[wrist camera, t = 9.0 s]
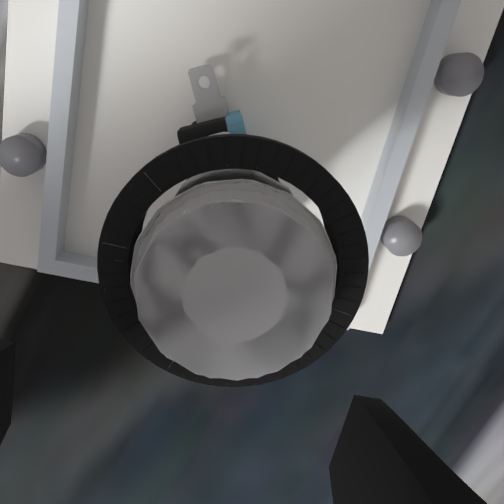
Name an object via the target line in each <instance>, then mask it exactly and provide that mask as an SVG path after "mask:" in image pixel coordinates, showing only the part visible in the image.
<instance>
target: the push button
mask: <svg viewBox="0 0 504 504" xmlns="http://www.w3.org/2000/svg"><path fill="white" fill-rule="evenodd" d="M188 75H189V79H190V82H191V86H192V90H193V93H194V97H195V101H196V103H195V104H194V105H192V107H193V111H194V115H195V118H196V121H194V122H193V123H192V124H191V125H188V126H184V127H181V128H180V129H179V130H178V131H177V137H178V141H179V145H177V146H175V147H172V148H170V149H169V150H167V151H165V152H163V153H162V154H160V155H158V156H157V157H155V158H154V159H153V160H151V161H150V162H148V163H147V164H146V165H145V166H144V167H142V168H141V169H140V170H139V171H138V172H137V173H136V174H135V175H134V176H133V177H132V178H131V179H130V180H129V182H128V183H127V184H126V185H125V186H124V187H123V189H122V190H121V191H120V193H119V194H118V196H117V197H116V199H115V200H114V202H113V204H112V206H111V208H110V210H109V212H108V213H107V216H106V218H105V221H104V224H103V227H102V230H101V234H100V238H99V244H98V252H97V271H98V280H99V285H100V289H101V294H102V297H103V300H104V302H105V305H106V308H107V310H108V312H109V314H110V316H111V318H112V320H113V321H114V323H115V325H116V326H117V328H118V329H119V331H120V332H121V333H122V335H123V336H124V337H125V338H126V340H127V341H128V342H129V343H130V344H131V345H132V346H133V347H134V348H135V349H136V350H137V351H138V352H139V353H141V354H142V355H143V356H144V357H145V358H147V359H148V360H150V361H151V362H152V363H154V364H155V365H157V366H159V367H160V368H162V369H164V370H166V371H168V372H170V373H172V374H174V375H177V376H179V377H181V378H184V379H187V380H190V381H193V382H198V383H202V384H207V385H214V386H226V387H239V386H251V385H258V384H263V383H267V382H272V381H275V380H278V379H281V378H284V377H286V376H289V375H291V374H293V373H296V372H297V371H299V370H301V369H303V368H305V367H307V366H308V365H310V364H311V363H313V362H314V361H316V360H317V359H319V358H320V357H321V356H322V355H324V354H325V353H326V352H327V351H328V350H329V349H330V348H331V347H332V346H333V345H334V344H335V343H336V342H337V341H338V340H339V339H340V338H341V336H342V335H343V334H344V333H345V331H346V330H347V328H348V327H349V325H350V324H351V322H352V321H353V319H354V317H355V315H356V313H357V311H358V309H359V307H360V304H361V302H362V299H363V296H364V292H365V289H366V284H367V278H368V270H369V253H368V243H367V238H366V233H365V230H364V226H363V223H362V220H361V218H360V215H359V213H358V211H357V209H356V207H355V205H354V203H353V202H352V200H351V198H350V197H349V195H348V194H347V192H346V191H345V190H344V188H343V187H342V186H341V184H340V183H339V182H338V181H337V180H336V179H335V178H334V177H333V176H332V175H331V174H330V173H329V172H328V171H327V170H326V169H325V168H324V167H323V166H322V165H320V164H319V163H318V162H317V161H316V160H314V159H313V158H311V157H310V156H308V155H307V154H305V153H304V152H302V151H300V150H298V149H296V148H294V147H292V146H290V145H287V144H285V143H282V142H279V141H277V140H273V139H269V138H265V137H262V136H255V135H248V134H246V130H245V126H244V122H243V117H242V114H241V113H240V110H237V111H233V112H229V110H228V106H227V102H226V98H225V96H222V97H221V96H220V92H219V88H218V84H217V80H216V76H215V72H214V68H213V66H212V65H210V64H206V65H202V66H198V67H195V68H191V69H189V71H188ZM202 76H206V77H207V78H208V79H209V81H210V85H209V87H208V88H202V87H201V86H200V85H199V79H200V77H202ZM278 178H280V179H282V180H284V181H286V182H288V183H290V184H292V185H293V186H295V187H296V188H298V189H299V190H301V191H302V192H303V193H304V194H305V195H307V196H308V197H309V198H310V199H311V200H312V201H313V202H314V203H315V204H316V205H317V207H318V208H319V211H320V213H321V216H322V219H323V224H324V226H323V224H322V223H321V221H320V220H319V219H318V218H317V217H316V216H315V215H314V214H313V213H312V212H311V211H310V210H309V209H308V208H307V207H306V206H305V205H304V204H302V203H301V202H300V201H299V200H298V199H297V198H296V197H295V196H293V195H292V193H291V191H290V189H289V187H287V186H285V185H283V184H281V183H280V181H279V179H278ZM186 179H187V180H186ZM184 180H186V181H185V182H184V183H183V184H182V185H181V187H180V188H179V190H178V192H177V193H176V195H175V196H174V198H172V199H170V200H168V201H167V202H165V203H164V204H163V205H162V206H161V207H160V208H158V209H157V211H156V212H155V214H154V215H153V216H152V218H151V219H150V221H149V222H148V223H147V225H146V226H145V228H144V229H143V231H142V228H143V223H144V219H145V216H146V213H147V211H148V209H149V208H150V206H151V205H152V204H153V203H154V202H155V201H156V200H157V199H158V198H159V197H160V196H161V195H162V194H163V193H165V192H166V191H167V190H169V189H170V188H172V187H173V186H175V185H176V184H178V183H180V182H182V181H184Z"/></svg>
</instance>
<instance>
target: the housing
mask: <svg viewBox="0 0 504 504" xmlns="http://www.w3.org/2000/svg"><path fill="white" fill-rule="evenodd" d="M503 8H504V0H9V5H8V26H7V46H6V67H5V88H4V108H3V129H2V142H1V143H0V165H1V170H0V262H1V263H6V264H12V265H17V266H22V267H28V268H33V269H37V272H41V273H46V274H51V275H57V276H62V277H68V278H73V279H78V280H84V281H89V282H94V283H99V280H98V271H97V252H98V244H99V238H100V234H101V230H102V227H103V224H104V221H105V218H106V216H107V213H108V212H109V210H110V208H111V206H112V204H113V202H114V200H115V199H116V197H117V196H118V194H119V193H120V191H121V190H122V189H123V187H124V186H125V185H126V184H127V183H128V182H129V180H130V179H131V178H132V177H133V176H134V175H135V174H136V173H137V172H138V171H139V170H140V169H141V168H142V167H144V166H145V165H146V164H147V163H148V162H150V161H151V160H153V159H154V158H155V157H157V156H158V155H160V154H162V153H163V152H165V151H167V150H169V149H170V148H172V147H175V146H177V145H179V141H178V137H177V131H178V130H179V129H180V128H181V127H184V126H188V125H191V124H192V123H193V122H194V121H196V118H195V115H194V111H193V107H192V105H194V104H195V103H196V101H195V97H194V93H193V90H192V86H191V82H190V79H189V75H188V71H189V69H191V68H195V67H198V66H202V65H206V64H210V65H212V66H213V68H214V72H215V76H216V80H217V84H218V88H219V92H220V96H221V97H222V96H225V98H226V102H227V106H228V110H229V112H233V111H237V110H240V113H241V114H242V117H243V122H244V126H245V130H246V134H248V135H255V136H262V137H265V138H269V139H273V140H277V141H279V142H282V143H285V144H287V145H290V146H292V147H294V148H296V149H298V150H300V151H302V152H304V153H305V154H307V155H308V156H310V157H311V158H313V159H314V160H316V161H317V162H318V163H319V164H320V165H322V166H323V167H324V168H325V169H326V170H327V171H328V172H329V173H330V174H331V175H332V176H333V177H334V178H335V179H336V180H337V181H338V182H339V183H340V184H341V186H342V187H343V188H344V190H345V191H346V192H347V194H348V195H349V197H350V198H351V200H352V202H353V203H354V205H355V207H356V209H357V211H358V213H359V215H360V218H361V220H362V223H363V226H364V230H365V233H366V238H367V243H368V253H369V270H368V278H367V284H366V289H365V292H364V296H363V299H362V302H361V304H360V307H359V309H358V311H357V313H356V315H355V317H354V319H353V321H352V322H351V324H350V325H349V327H348V328H347V330H349V328H353V329H358V330H363V331H369V332H374V333H379V334H383V331H384V329H385V326H386V323H387V321H388V318H389V315H390V313H391V310H392V307H393V304H394V302H395V299H396V296H397V294H398V291H399V288H400V286H401V283H402V280H403V278H404V275H405V272H406V269H407V267H408V264H409V261H410V259H411V256H412V253H414V252H415V251H416V250H417V249H418V248H419V246H420V245H421V242H422V231H421V229H422V226H423V224H424V221H425V218H426V216H427V213H428V210H429V208H430V205H431V202H432V199H433V197H434V194H435V191H436V189H437V186H438V183H439V181H440V178H441V175H442V173H443V170H444V167H445V164H446V162H447V159H448V156H449V154H450V151H451V148H452V146H453V143H454V140H455V138H456V135H457V132H458V129H459V127H460V124H461V121H462V119H463V116H464V113H465V111H466V108H467V105H468V103H469V100H470V97H471V95H472V93H473V92H474V91H475V90H476V89H477V88H478V87H479V86H480V84H481V82H482V80H483V76H484V66H483V62H484V60H485V57H486V54H487V51H488V49H489V46H490V43H491V41H492V38H493V35H494V33H495V30H496V27H497V25H498V22H499V19H500V16H501V14H502V11H503ZM199 85H200V86H201V87H202V88H208V87H209V85H210V81H209V79H208V78H207V77H206V76H202V77H200V79H199ZM278 179H279V181H280V183H281V184H283V185H285V186H287V187H289V189H290V191H291V193H292V195H293V196H295V197H296V198H297V199H298V200H299V201H300V202H301V203H302V204H304V205H305V206H306V207H307V208H308V209H309V210H310V211H311V212H312V213H313V214H314V215H315V216H316V217H317V218H318V219H319V220H320V221H321V223H322V224H323V219H322V216H321V213H320V211H319V208H318V207H317V205H316V204H315V203H314V202H313V201H312V200H311V199H310V198H309V197H308V196H307V195H305V194H304V193H303V192H302V191H301V190H299V189H298V188H296V187H295V186H293V185H292V184H290V183H288V182H286V181H284V180H282V179H280V178H278ZM186 180H187V179H186ZM186 180H184V181H182V182H180V183H178V184H176V185H175V186H173V187H172V188H170V189H169V190H167V191H166V192H165V193H163V194H162V195H161V196H160V197H159V198H158V199H157V200H156V201H155V202H154V203H153V204H152V205H151V206H150V208H149V209H148V211H147V213H146V216H145V219H144V223H143V228H142V231H143V229H144V228H145V226H146V225H147V223H148V222H149V221H150V219H151V218H152V216H153V215H154V214H155V212H156V211H157V209H158V208H160V207H161V206H162V205H163V204H164V203H165V202H167V201H168V200H170V199H172V198H174V196H175V195H176V193H177V192H178V190H179V188H180V187H181V185H182V184H183V183H184V182H185V181H186ZM323 226H324V224H323Z"/></svg>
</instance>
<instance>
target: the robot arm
mask: <svg viewBox="0 0 504 504" xmlns="http://www.w3.org/2000/svg"><path fill="white" fill-rule="evenodd" d="M14 357H15V342H14V341H8V340H1V339H0V445H1V443H2V441H3V438H4V436H5V434H6V432H7V430H8V428H9V426H10V424H11V411H12V393H13V375H14ZM329 470H330V479H331V488H332V496H333V503H334V504H487V503H486V502H485V501H484V500H483V499H482V498H481V497H479V496H478V495H477V494H476V493H475V492H474V491H473V490H472V489H471V488H470V487H469V486H468V485H467V484H466V483H465V482H463V481H462V480H461V479H460V478H459V477H458V476H457V475H456V474H455V473H454V472H453V471H452V470H451V469H450V468H449V467H448V466H447V465H446V464H445V463H444V462H443V461H442V460H441V459H440V458H439V457H438V456H437V455H436V454H435V453H434V452H433V451H432V450H431V449H430V448H429V447H428V446H427V445H426V444H425V443H424V442H423V441H422V440H421V439H420V438H419V437H418V436H417V434H416V433H415V432H414V431H413V430H412V429H411V428H410V427H409V426H408V425H407V424H406V423H405V422H404V421H403V420H402V419H401V418H400V417H399V416H398V415H397V414H396V413H395V412H394V411H393V410H392V409H391V408H390V407H389V406H388V405H387V404H385V403H384V402H383V401H382V400H381V399H377V398H370V397H364V396H357V395H354V397H353V400H352V403H351V406H350V408H349V411H348V414H347V417H346V420H345V423H344V426H343V428H342V431H341V434H340V437H339V440H338V443H337V446H336V448H335V451H334V454H333V457H332V460H331V463H330V466H329Z"/></svg>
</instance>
